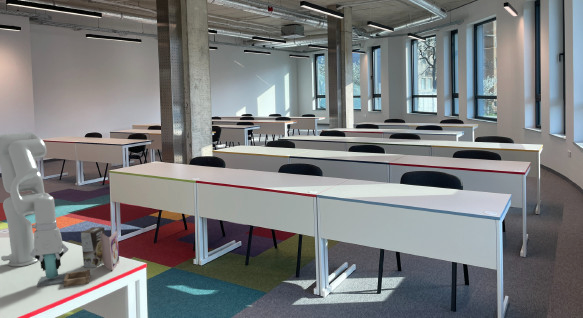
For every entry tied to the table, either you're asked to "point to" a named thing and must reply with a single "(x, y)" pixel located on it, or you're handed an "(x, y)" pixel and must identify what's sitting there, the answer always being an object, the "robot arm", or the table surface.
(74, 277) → the pocket
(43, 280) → the mat
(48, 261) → the peg
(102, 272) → the table surface
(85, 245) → the coffee box
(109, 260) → the greeting card
